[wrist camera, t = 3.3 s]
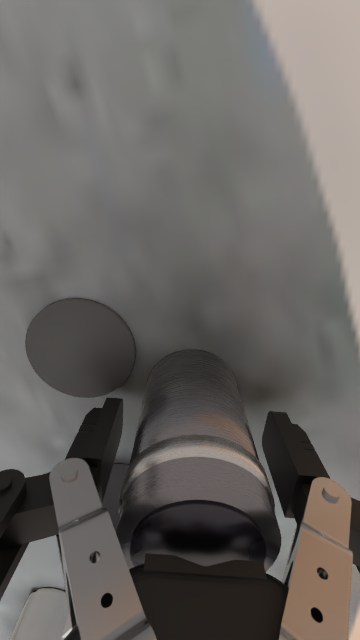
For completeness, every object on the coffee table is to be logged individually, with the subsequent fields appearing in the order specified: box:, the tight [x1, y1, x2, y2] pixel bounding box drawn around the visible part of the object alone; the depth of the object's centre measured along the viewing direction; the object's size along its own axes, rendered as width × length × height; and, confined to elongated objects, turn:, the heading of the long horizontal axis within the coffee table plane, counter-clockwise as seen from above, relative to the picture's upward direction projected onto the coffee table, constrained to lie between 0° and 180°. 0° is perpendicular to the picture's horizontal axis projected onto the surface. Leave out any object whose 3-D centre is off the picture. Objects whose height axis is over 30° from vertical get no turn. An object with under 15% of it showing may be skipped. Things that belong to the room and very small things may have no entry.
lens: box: [116, 350, 281, 572], centre depth 12 cm, size 5×5×8 cm
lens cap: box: [26, 298, 135, 398], centre depth 15 cm, size 6×6×1 cm
